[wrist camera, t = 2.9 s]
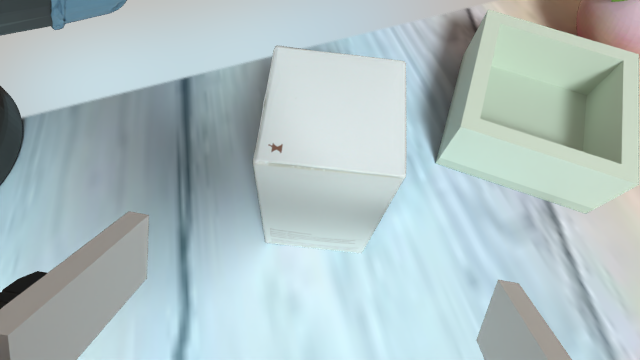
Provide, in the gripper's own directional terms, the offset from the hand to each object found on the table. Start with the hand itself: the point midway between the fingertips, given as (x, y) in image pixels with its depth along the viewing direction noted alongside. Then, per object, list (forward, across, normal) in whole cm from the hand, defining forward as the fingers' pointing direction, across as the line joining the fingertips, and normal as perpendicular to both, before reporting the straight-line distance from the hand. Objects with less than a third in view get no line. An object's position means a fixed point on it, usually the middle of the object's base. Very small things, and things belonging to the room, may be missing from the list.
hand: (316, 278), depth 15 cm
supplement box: (+16, 0, -4) cm, 16 cm away
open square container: (+23, +16, +4) cm, 28 cm away
